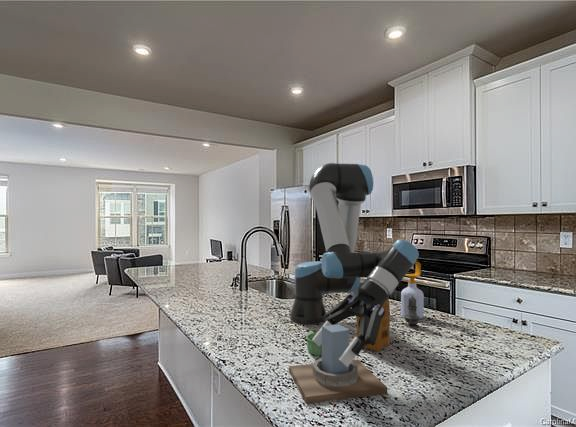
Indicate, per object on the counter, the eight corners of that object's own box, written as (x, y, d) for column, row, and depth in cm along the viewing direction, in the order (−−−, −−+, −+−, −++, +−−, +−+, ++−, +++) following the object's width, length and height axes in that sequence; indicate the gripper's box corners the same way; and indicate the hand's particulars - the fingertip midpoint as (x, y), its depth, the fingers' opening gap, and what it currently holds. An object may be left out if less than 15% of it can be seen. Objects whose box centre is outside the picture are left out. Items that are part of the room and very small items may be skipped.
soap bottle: (397, 313, 147) (397, 257, 148) (417, 313, 148) (417, 257, 148) (406, 319, 138) (406, 260, 139) (427, 319, 139) (427, 260, 139)
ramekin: (336, 347, 107) (336, 333, 108) (333, 358, 99) (333, 343, 99) (308, 344, 109) (308, 331, 110) (303, 355, 101) (304, 340, 101)
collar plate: (289, 371, 89) (289, 356, 89) (357, 365, 94) (358, 350, 94) (305, 403, 74) (306, 385, 74) (387, 393, 78) (387, 376, 78)
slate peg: (321, 373, 85) (321, 326, 86) (338, 370, 87) (338, 324, 88) (331, 382, 81) (331, 332, 81) (349, 378, 83) (349, 329, 83)
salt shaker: (421, 329, 126) (421, 297, 126) (405, 328, 127) (405, 296, 127) (418, 324, 132) (418, 294, 132) (403, 323, 133) (403, 293, 133)
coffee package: (350, 346, 108) (351, 278, 109) (366, 335, 118) (366, 273, 119) (380, 353, 102) (380, 281, 103) (394, 342, 112) (394, 276, 113)
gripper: (419, 308, 79) (367, 383, 73) (358, 288, 102) (314, 344, 96) (402, 287, 77) (347, 363, 71) (343, 271, 100) (297, 328, 94)
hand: (328, 352), depth 83 cm, fingers open, 13 cm apart
